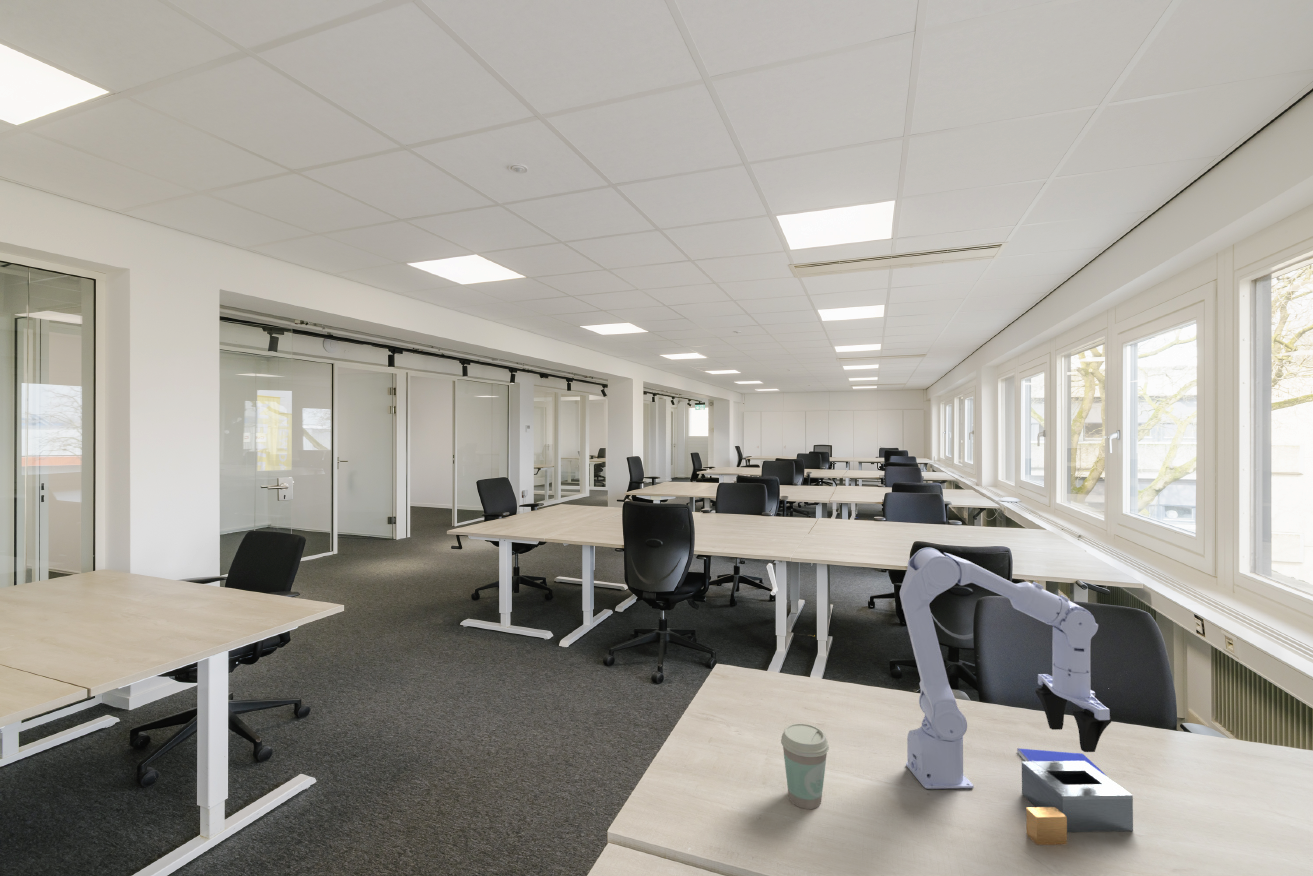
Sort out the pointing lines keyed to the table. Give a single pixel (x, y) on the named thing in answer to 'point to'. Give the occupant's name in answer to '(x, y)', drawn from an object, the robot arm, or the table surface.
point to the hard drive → (1053, 756)
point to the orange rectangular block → (1046, 825)
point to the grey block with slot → (1078, 795)
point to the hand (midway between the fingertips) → (1071, 739)
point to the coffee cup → (805, 763)
